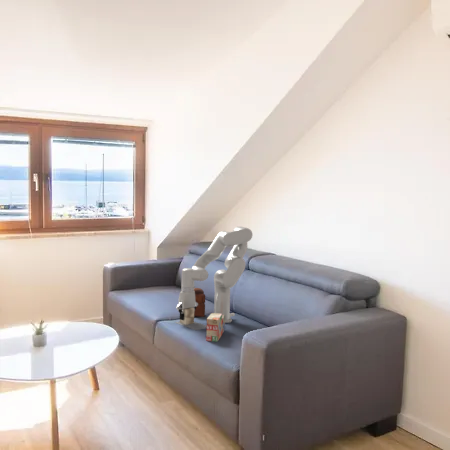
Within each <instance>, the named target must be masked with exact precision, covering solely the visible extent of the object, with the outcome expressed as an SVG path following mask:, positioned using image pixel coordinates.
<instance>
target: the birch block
mask: <svg viewBox="0 0 450 450" xmlns="http://www.w3.org/2000/svg"><path fill="white" fill-rule="evenodd" d="M183 313H184V320H181V319H180V318H179V321H180V323H182V324H185V325H188V324H192V323H194V322H195V316H194V308H188V309H185V310H184V312H183Z"/></svg>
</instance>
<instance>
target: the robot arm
mask: <svg viewBox="0 0 450 450" xmlns="http://www.w3.org/2000/svg"><path fill="white" fill-rule="evenodd" d="M252 238H253V231H252V230H251V229H250V228H248V227H243V226H236V227H234V228H233V230H232V231H226V230H221V231H219V232H218V233H217V235H216V236H215V238H214V239H213V241H212V242H211V244H210V246H209V247H208V248H207V250H205V251H204V252H203V254H201V255H200V256H199V257H198V258H197V260H195V263H194V264H193V266H192V267H185V268H183V269H181V285H180V286H181V287H180V289H181V291H179V294H178V301H177V302H178V303H177V305H176V306H175V309H176V310H177V312H178V314H179V320H180V319H181V320H184V313H183V312H184V310H185V309H188V308H194V311H195V309H196V307H197V305H198V303H197V302H196V301H195V291H194V288H196V286H195V282H196V281H197V282H204V281H206V280H207V279H208V277H209V272H208V270H207V269H206V268H207V267H208V265H209V264H210V263H212V262H214V261H216V260H218V259H220V258H221V256H222V254H223V252H224V251H225V249H226V247H232V248H231V250H230V251H229V254H227V257H226V258H225V259H224V267H226V269H218V270H217V271H216V272H215V273H214V275H213V284H214V298H213V299H214V303H213V304H214V305H213V306H214V307H213V313H219V314H222V315H225V324H226V323H227V324H229V323H231V322H232V321H233V319H232V318H231V317H234V316H235V315H236V314H235V312H230V309H231V308H230V307H231V304H230V303H231V288H234V286H235V285H236V284H237V282H238V281H239V279H240V278H241V276H242V275H243V273H244V272H245V269H246V261H245V259H244V256H246V252H247V251H248V242H250V241H251V240H252Z"/></svg>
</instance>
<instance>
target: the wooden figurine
mask: <svg viewBox="0 0 450 450" xmlns="http://www.w3.org/2000/svg"><path fill="white" fill-rule="evenodd" d="M194 291H195V301H196V302H197V303H198V305H197V307H196V309H195V311H194V317H205V316H206V315H205V314H206V294H205V291H204V290H203V289H202V288H201V287H195V288H194Z"/></svg>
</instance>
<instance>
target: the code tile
mask: <svg viewBox="0 0 450 450" xmlns="http://www.w3.org/2000/svg"><path fill="white" fill-rule="evenodd" d="M174 324H177V325H181V326H183V327H184V328H189V329H191V330H193V331H200V330H204V329H207V324H203V323H200V322H198V321H197V322H196V321H194V323H192V324H188V325H185V324H182V323H180V320H179V321H176V322H174Z"/></svg>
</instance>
